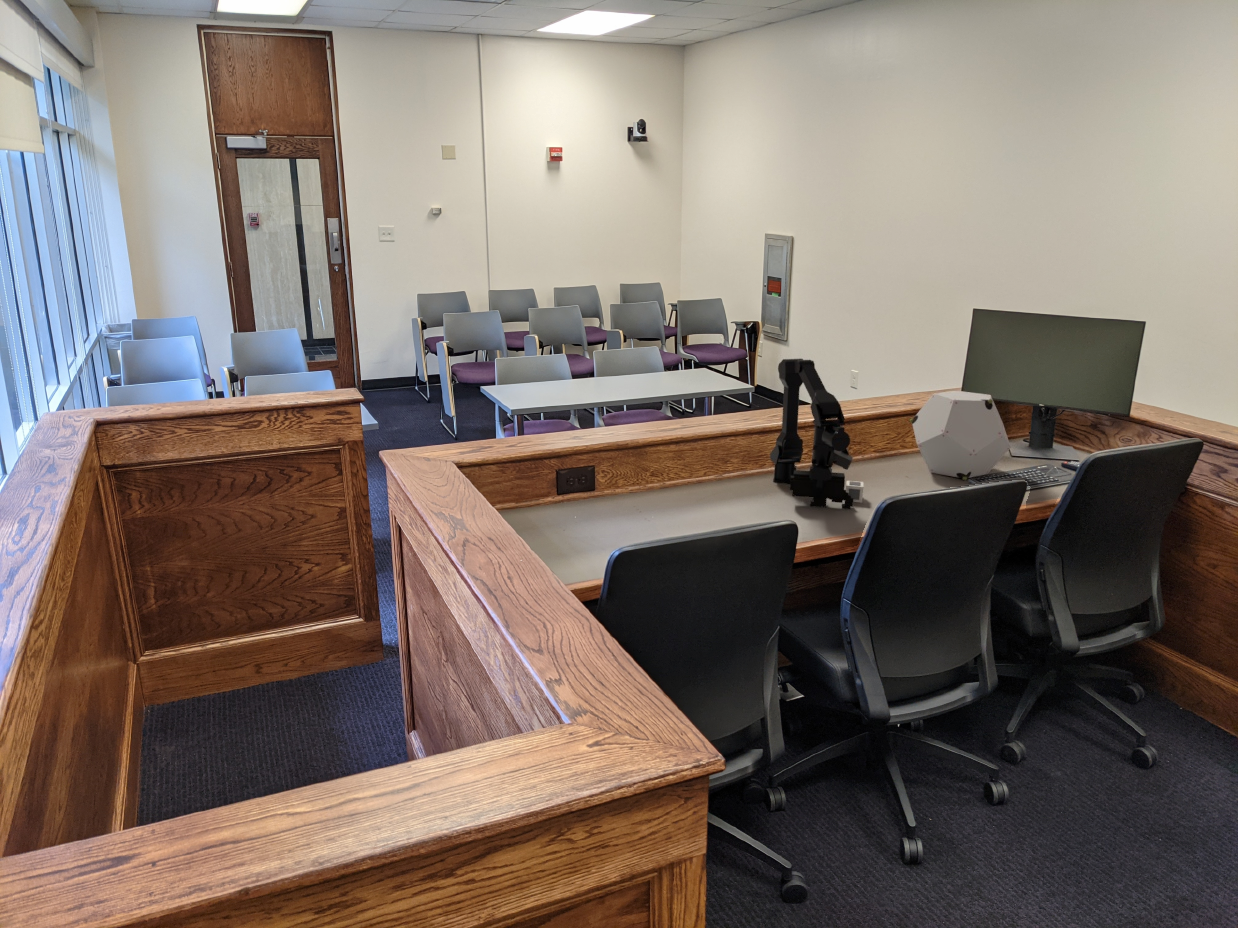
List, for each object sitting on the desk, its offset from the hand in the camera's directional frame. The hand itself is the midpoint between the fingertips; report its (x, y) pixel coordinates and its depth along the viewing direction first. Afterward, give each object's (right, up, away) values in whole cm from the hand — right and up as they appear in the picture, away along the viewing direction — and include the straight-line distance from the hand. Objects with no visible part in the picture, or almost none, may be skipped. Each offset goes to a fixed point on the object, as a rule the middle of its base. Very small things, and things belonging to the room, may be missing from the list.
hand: (819, 492), depth 260 cm
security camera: (+1, -4, +1) cm, 4 cm away
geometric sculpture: (+54, +6, +35) cm, 65 cm away
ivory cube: (+12, -2, +7) cm, 14 cm away
